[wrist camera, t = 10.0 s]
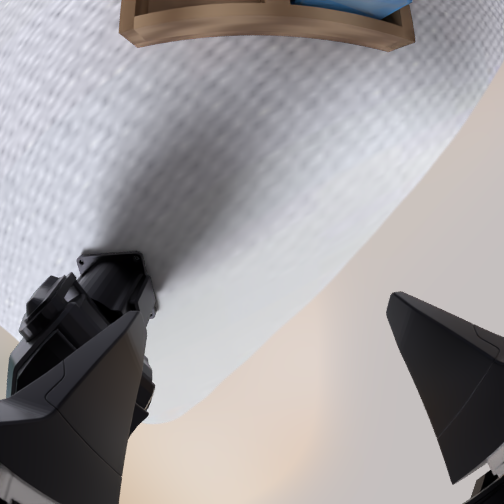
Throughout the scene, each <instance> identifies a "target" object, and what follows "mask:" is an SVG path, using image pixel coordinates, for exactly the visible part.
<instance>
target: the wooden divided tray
mask: <svg viewBox="0 0 504 504" xmlns="http://www.w3.org/2000/svg"><path fill="white" fill-rule="evenodd" d="M119 34H121V35H122V36H123V37H125V38H126V39H127V40H128V41H130V42H131V43H132V44H133V45H135V46H136V47H137V48H140V47H144V46H149V45H154V44H160V43H166V42H172V41H179V40H186V39H195V38H205V37H217V36H237V35H272V36H292V37H305V38H315V39H323V40H331V41H338V42H344V43H350V44H355V45H360V46H365V47H370V48H375V49H379V50H383V51H387V52H390V51H393V50H395V49H398V48H401V47H403V46H406V45H409V44H412V43H415V42H416V41H415V34H414V28H413V22H412V17H411V11H410V6H409V4H408V5H406V6H404V7H402V8H400V9H399V10H397V11H395V12H393V13H391V14H390V15H388V16H386V17H385V18H383V19H381V20H378V19H374V18H370V17H366V16H362V15H358V14H353V13H348V12H343V11H338V10H332V9H326V8H319V7H311V6H302V5H292V4H290V0H122V2H121V11H120V23H119Z"/></svg>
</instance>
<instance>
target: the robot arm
mask: <svg viewBox="0 0 504 504" xmlns="http://www.w3.org/2000/svg"><path fill="white" fill-rule="evenodd" d="M135 256H137V257H139V260H137V259H136V258H135ZM81 260H83V262H84V263H83V262H82V261H81ZM77 264H78V268H79V271H80V274H81V276H80V277H79V278H78V279H77V280H76V277H75V275H74V274H73V273H72V272H71V273H69V274H68V275H67V276H65V275H64V276H62V277H61V278H57V277H54V276H50V277H49V278H48V279H47V280H46V281H45V282H44V283H43V284H42V285H41V286H40V287H39V288H38V289H37V290H36V291H35V292H34V294H33V295H32V297H31V298H30V299H29V301H28V302H27V304H26V314H25V315H24V317H23V320H22V322H21V325H20V328H19V333H20V334H21V335H22V336H23V337H24V338H23V339H22V340H21V341H20V343H19V344H18V345H17V346H16V348H15V349H14V350H13V352H12V353H11V355H10V357H9V365H8V375H7V390H6V399H3V400H0V504H119V496H120V488H121V481H122V477H121V476H122V473H123V466H124V460H125V454H126V447H127V442H128V439H129V437H130V435H131V434H132V432H133V431H134V430H135V429H136V427H137V426H138V425H139V424H140V423H141V422H142V421H143V420H144V419H145V418H147V417H148V415H149V413H148V412H147V409H148V407H149V405H150V403H151V399H152V396H153V393H154V390H155V384H154V383H153V382H152V369H151V367H150V365H149V364H148V358H147V357H146V356H145V355H144V354H145V346H146V339H147V330H146V326H147V324H148V321H149V319H152V318H154V317H155V315H156V310H155V306H154V305H155V302H156V300H155V295H154V291H153V287H152V282H151V278H150V276H149V275H147V272H146V267H145V263H144V258H143V255H142V254H141V253H140V252H137V251H135V252H120V253H105V254H90V255H81V256H79V257H78V258H77ZM151 313H152V314H151ZM386 315H387V318H388V321H389V324H390V326H391V329H392V332H393V334H394V337H395V340H396V343H397V345H398V348H399V350H400V353H401V355H402V357H403V359H404V361H405V363H406V365H407V367H408V370H409V372H410V374H411V376H412V378H413V381H414V383H415V385H416V388H417V390H418V392H419V395H420V397H421V399H422V402H423V404H424V406H425V409H426V411H427V414H428V416H429V419H430V422H431V424H432V427H433V429H434V432H435V435H436V437H437V440H438V443H439V446H440V449H441V452H442V455H443V458H444V461H445V463H446V466H447V470H448V473H449V476H450V479H451V482H452V484H455V483H457V482H459V481H460V480H462V479H463V478H465V477H467V476H468V475H470V474H471V473H473V472H474V471H476V470H477V469H479V468H480V467H482V466H483V465H485V463H488V465H489V467H490V469H491V470H490V471H489V472H487V473H486V474H485V475H483V476H482V477H480V478H479V479H478V480H477V481H476V484H475V487H474V490H473V492H472V495H471V498H470V499H469V500H467V501H466V502H464V503H463V504H504V337H502V336H499V335H497V334H494V333H492V332H490V331H488V330H485V329H483V328H481V327H479V326H476V325H473V324H472V323H470V322H468V321H466V320H464V319H461V318H459V317H457V316H455V315H453V314H451V313H448V312H446V311H444V310H442V309H439V308H437V307H435V306H433V305H431V304H428V303H426V302H424V301H422V300H420V299H417V298H415V297H413V296H411V295H408V294H406V293H404V292H401V291H400V292H394V293H392V294H391V295H390V299H389V303H388V307H387V311H386Z"/></svg>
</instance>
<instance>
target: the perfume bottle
mask: <svg viewBox="0 0 504 504" xmlns="http://www.w3.org/2000/svg"><path fill="white" fill-rule="evenodd" d="M410 3H412V0H290V4H292V5H302V6H311V7H319V8H326V9H332V10H338V11H343V12H348V13H353V14H358V15H362V16H366V17H370V18H374V19H378V20H381V19H383V18H385V17H386V16H388V15H390V14H391V13H393V12H395V11H397V10H399V9H400V8H402V7H404V6H406V5H408V4H410Z"/></svg>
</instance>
